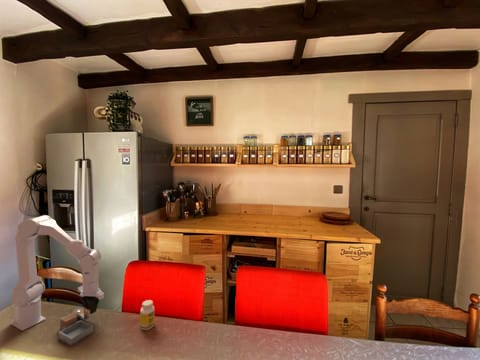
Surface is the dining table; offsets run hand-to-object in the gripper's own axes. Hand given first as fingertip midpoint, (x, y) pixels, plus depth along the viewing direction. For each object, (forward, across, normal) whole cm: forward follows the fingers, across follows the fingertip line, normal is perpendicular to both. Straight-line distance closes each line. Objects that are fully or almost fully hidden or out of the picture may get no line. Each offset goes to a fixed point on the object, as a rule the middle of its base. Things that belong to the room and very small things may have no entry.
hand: (91, 311), depth 99 cm
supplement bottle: (+4, +24, +8) cm, 26 cm away
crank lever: (+3, -4, -1) cm, 5 cm away
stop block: (+3, -3, -7) cm, 9 cm away
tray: (+3, +4, -8) cm, 10 cm away
